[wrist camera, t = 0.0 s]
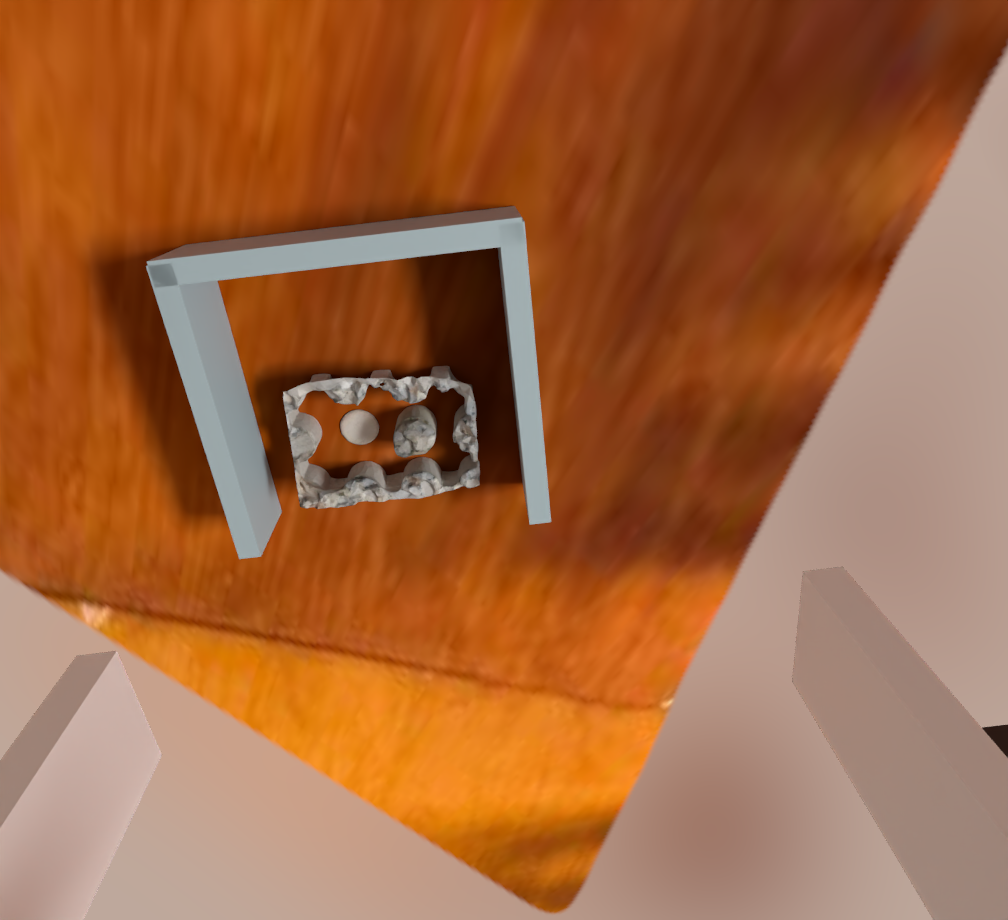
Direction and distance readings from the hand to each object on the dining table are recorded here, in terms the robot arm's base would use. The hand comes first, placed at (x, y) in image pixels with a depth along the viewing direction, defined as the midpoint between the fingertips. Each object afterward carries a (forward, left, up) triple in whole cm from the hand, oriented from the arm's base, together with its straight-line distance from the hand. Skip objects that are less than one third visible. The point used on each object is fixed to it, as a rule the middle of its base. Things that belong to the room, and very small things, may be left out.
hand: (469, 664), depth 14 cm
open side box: (+3, -5, -28) cm, 29 cm away
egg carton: (+6, -5, -28) cm, 29 cm away
